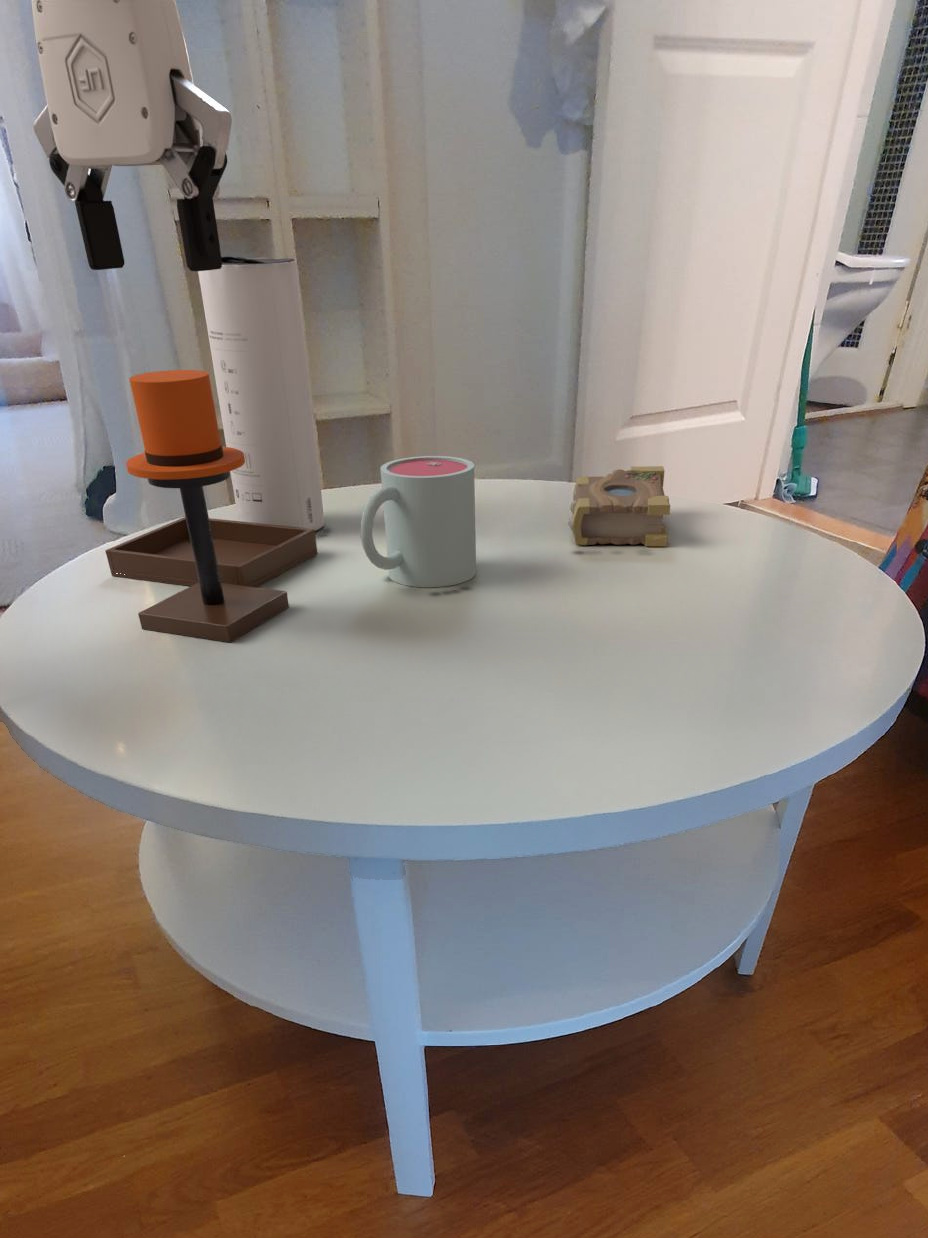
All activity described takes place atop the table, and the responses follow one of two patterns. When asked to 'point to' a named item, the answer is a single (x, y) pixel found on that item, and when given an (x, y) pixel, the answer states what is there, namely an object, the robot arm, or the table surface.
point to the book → (620, 508)
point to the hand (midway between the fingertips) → (155, 269)
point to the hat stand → (209, 582)
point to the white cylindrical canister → (264, 388)
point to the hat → (178, 427)
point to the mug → (425, 521)
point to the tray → (239, 551)
